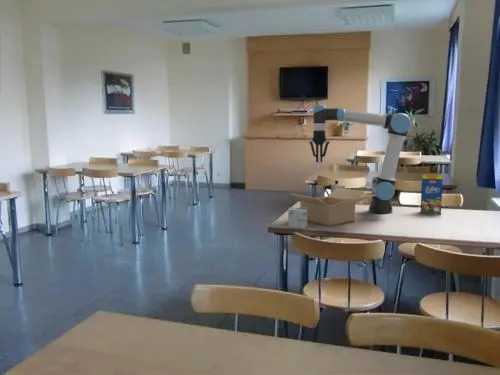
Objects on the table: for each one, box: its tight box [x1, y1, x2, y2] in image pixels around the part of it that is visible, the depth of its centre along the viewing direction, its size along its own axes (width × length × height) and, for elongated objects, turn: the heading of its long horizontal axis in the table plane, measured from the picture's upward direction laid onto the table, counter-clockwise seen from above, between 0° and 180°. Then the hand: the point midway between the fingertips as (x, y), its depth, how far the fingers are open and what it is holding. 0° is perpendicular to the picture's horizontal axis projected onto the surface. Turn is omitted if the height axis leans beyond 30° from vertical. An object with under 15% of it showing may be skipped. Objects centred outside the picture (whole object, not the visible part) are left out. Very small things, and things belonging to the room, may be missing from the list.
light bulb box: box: [287, 207, 308, 229], centre depth 279 cm, size 11×7×11 cm, turn 84°
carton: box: [290, 187, 365, 228], centre depth 295 cm, size 25×40×17 cm, turn 127°
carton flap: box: [330, 194, 375, 207], centre depth 278 cm, size 16×21×1 cm
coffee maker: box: [323, 180, 346, 196], centre depth 341 cm, size 15×9×18 cm, turn 85°
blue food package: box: [420, 173, 443, 215], centre depth 316 cm, size 6×12×25 cm, turn 75°
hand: (319, 167), depth 311 cm, fingers closed
